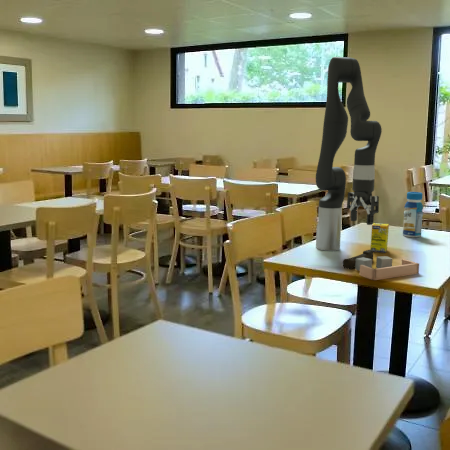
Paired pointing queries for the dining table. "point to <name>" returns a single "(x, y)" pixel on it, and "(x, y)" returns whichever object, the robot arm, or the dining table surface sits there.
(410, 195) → the beverage bottle
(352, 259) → the hand tool
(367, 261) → the stone
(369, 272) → the pink rectangular tray
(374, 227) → the supplement box
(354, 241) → the dining table surface
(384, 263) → the stone
